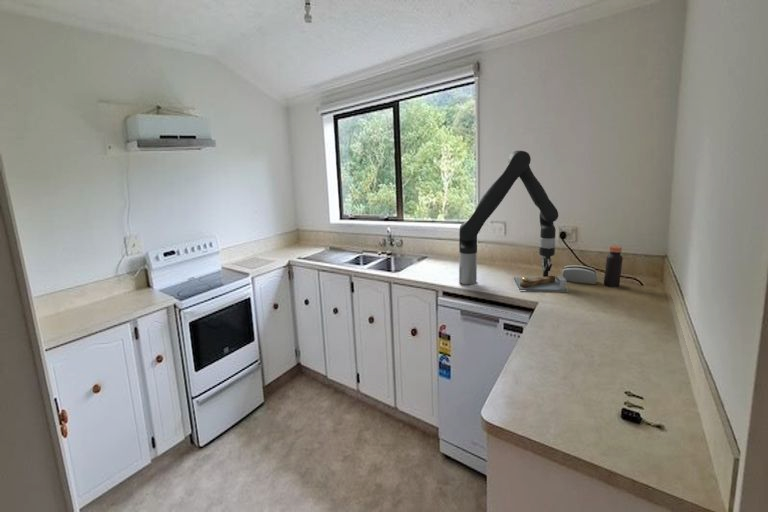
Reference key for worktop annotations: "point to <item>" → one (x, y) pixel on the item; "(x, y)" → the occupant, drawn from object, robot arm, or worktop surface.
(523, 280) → the pintle
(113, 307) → the worktop surface
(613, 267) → the bottle
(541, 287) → the board
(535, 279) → the link
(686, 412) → the worktop surface
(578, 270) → the grey napkin holder
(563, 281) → the keeper
